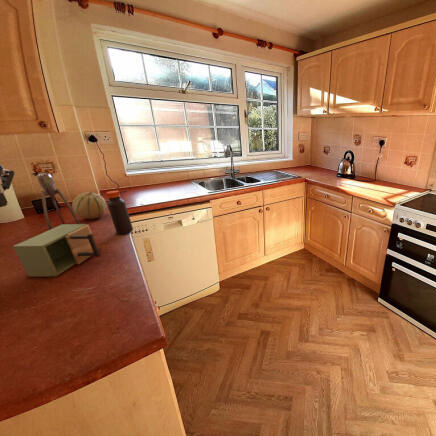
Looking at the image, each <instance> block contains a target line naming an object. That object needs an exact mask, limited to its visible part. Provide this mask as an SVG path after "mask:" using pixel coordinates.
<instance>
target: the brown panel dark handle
mask: <svg viewBox="0 0 436 436" xmlns="http://www.w3.org/2000/svg"><path fill="white" fill-rule="evenodd" d="M65 238H66V240H67V242H68V245H69V247H70V249H71V252H72V254H73V257H74V259H75V261H76V264H75V265H80V264H82V263H83V262H84V261H87V259H88V260H89V258H91V257H95V258H98V257H100V256H101V253H100V251H99V248H98V244H97V243H96V239H95V237H94V235H93V233H90V232H89V230H88V227H84V228H82V229H80V230H78V231H76V232H74V233H72V234H70V235H68V236H66V237H65Z"/></svg>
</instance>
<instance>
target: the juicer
mask: <svg viewBox="0 0 436 436" xmlns="http://www.w3.org/2000/svg"><path fill="white" fill-rule="evenodd" d="M36 178H37V182H38V184H39V186H40V188H42V190H41V191H40V194H41V202H42V203H41V204H42V208H43V215H44V219H45V222H46V225H47V228H48V230H51V229H53V227H52V225H51V222H50V218H49V213H48V208H47V201H46V197H47V196H48V197H49V198H50V199H51V200H52V202H53V205H54V207H55V210H56V212H57V214H58V217H59V219H60V222H61V225H62V224H66V222H65V220H64V218H63V215H62V214H61V210H60V208H59V205H58V204H57V201H56V195H57V194H58V195H59V196H60V199H62V201H63V202H64V204H65V205H66V207H67V208H68V210H69V211H70V213H71V215H72V216H73V219H74V220H75V222H76V224H81V222H80V220H79V218H78V215H77V214H76V213H75V212H74V210H73V207H72V205H70V203H69V201H68V200H67V198H66V197H65V195H64V194H63V193H62V191H61V190H60V189H59V188H56V183H55V180H54V178H53V176H52V175H51V174H50V173H49V172H40V173H37V176H36Z"/></svg>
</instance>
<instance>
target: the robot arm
mask: <svg viewBox="0 0 436 436" xmlns="http://www.w3.org/2000/svg"><path fill="white" fill-rule="evenodd" d="M14 176H15V171H14V170H8V169H6V168H4V167H3V165H2V164H0V208H3V207H6V206H8V200H7V198H6V195H5V194H4V193H5V191H7V190H9V189H10V187H11V185H12V183H13V179H14Z"/></svg>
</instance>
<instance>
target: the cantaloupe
mask: <svg viewBox="0 0 436 436" xmlns="http://www.w3.org/2000/svg"><path fill="white" fill-rule="evenodd" d="M71 207H72V209H73V211H74V213H75V214H76V216H77V217H80V218H82V219H85V220H94V219H98V218H100V217H102V216H103V215H104V214H105V213H106V211H107V208H108V205H107V203H106V199H105V198H104V197H103V196H102V195H101V194H99V193H95V192H92V191H90V192H89V191H87V192H83V193H80V194H78V195H76V196H75V197H74V198H73V201H72V204H71Z"/></svg>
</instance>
